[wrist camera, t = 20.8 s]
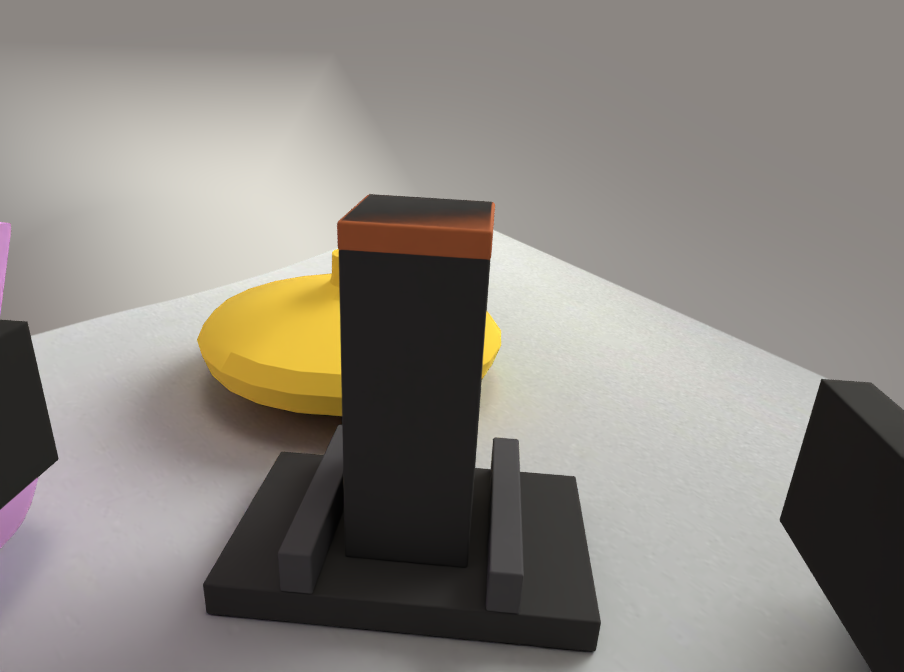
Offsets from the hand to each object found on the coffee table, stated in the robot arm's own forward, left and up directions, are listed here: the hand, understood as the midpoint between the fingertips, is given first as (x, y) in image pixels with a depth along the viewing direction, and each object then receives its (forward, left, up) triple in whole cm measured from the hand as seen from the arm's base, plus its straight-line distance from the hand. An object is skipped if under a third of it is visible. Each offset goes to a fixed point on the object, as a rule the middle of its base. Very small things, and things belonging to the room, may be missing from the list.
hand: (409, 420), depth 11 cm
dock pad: (+1, -9, -10) cm, 14 cm away
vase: (+6, -22, -11) cm, 25 cm away
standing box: (+1, -9, -9) cm, 13 cm away
